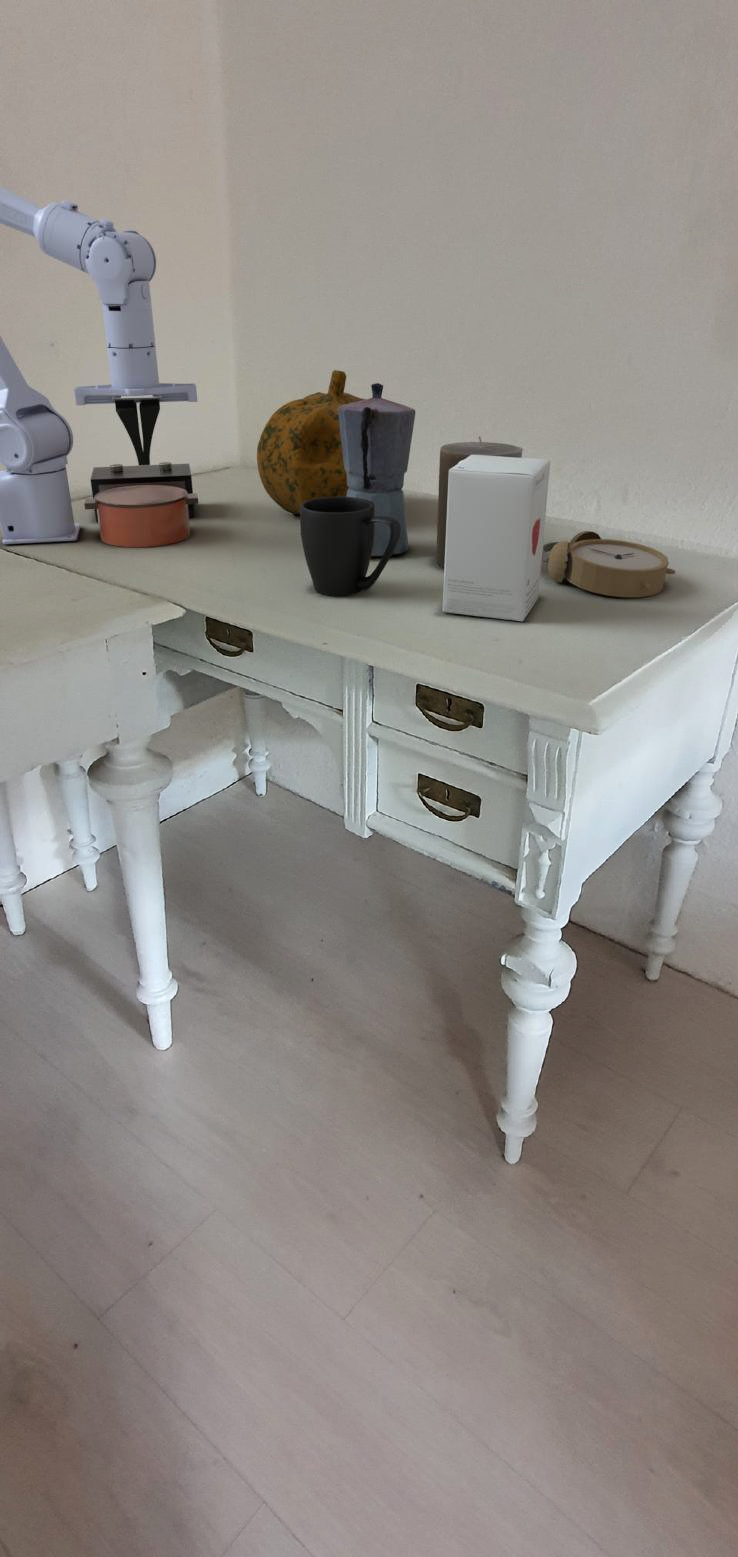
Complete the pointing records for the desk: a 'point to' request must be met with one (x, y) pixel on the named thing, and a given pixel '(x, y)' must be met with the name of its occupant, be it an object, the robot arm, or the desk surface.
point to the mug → (342, 543)
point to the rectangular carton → (495, 536)
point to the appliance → (142, 478)
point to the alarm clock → (607, 565)
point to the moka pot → (378, 459)
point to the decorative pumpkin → (305, 448)
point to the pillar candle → (448, 459)
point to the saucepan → (143, 515)
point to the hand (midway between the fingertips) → (144, 463)
